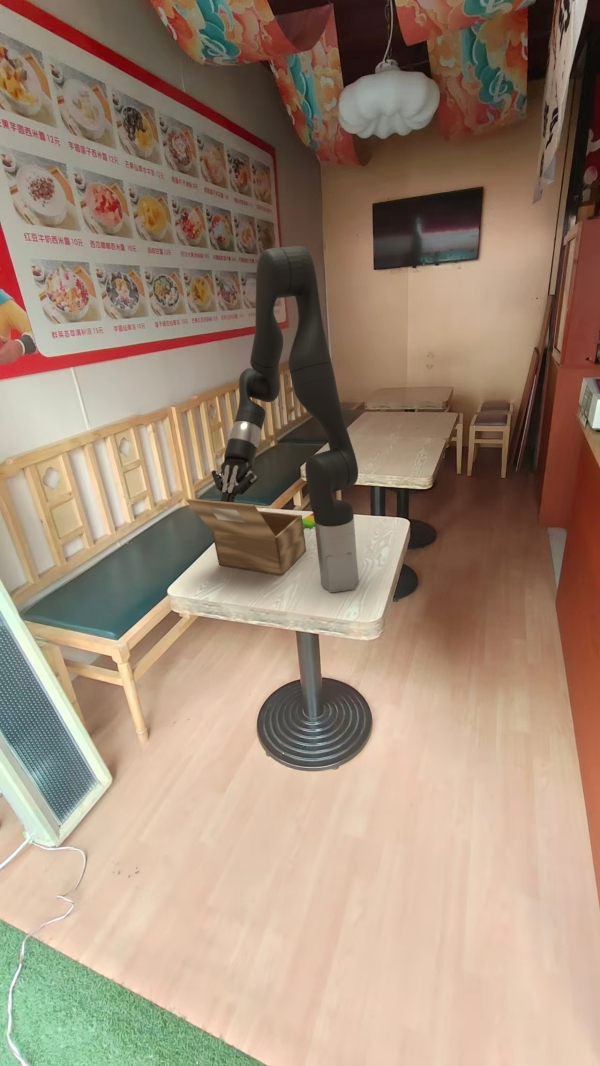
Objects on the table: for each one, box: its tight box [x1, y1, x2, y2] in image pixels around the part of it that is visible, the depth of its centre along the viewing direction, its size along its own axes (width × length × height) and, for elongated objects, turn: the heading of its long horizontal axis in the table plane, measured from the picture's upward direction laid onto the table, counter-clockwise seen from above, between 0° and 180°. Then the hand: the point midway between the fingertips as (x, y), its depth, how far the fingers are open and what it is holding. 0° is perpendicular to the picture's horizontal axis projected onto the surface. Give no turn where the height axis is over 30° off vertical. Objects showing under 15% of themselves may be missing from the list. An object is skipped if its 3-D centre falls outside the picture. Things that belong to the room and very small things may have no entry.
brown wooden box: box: [211, 510, 307, 577], centre depth 141 cm, size 14×20×11 cm
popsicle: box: [302, 512, 315, 530], centre depth 160 cm, size 6×15×2 cm, turn 139°
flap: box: [185, 497, 276, 539], centre depth 128 cm, size 14×20×1 cm
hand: (225, 508), depth 125 cm, fingers closed
